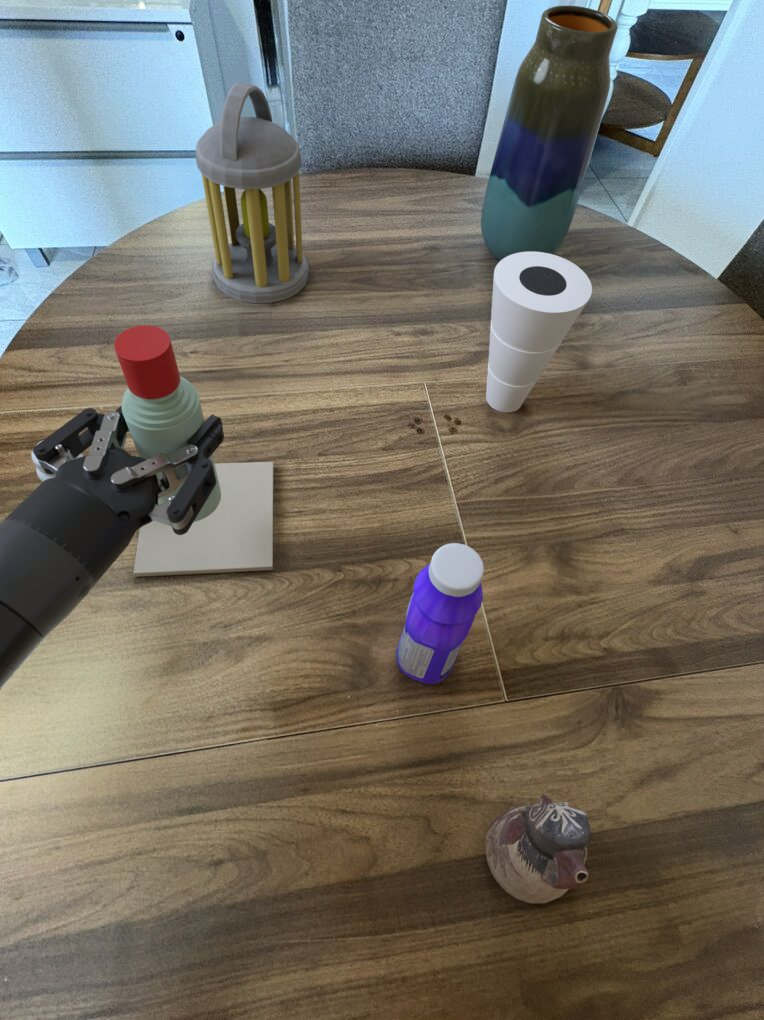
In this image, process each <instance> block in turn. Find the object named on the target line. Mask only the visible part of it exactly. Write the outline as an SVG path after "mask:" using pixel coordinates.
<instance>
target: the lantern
mask: <svg viewBox="0 0 764 1020" xmlns="http://www.w3.org/2000/svg"><path fill="white" fill-rule="evenodd" d="M248 97H249V98H250V101H251V104H252V108H253V111H254V115H255V116H242V112H243V108H244V105H245V103H246V100H247V98H248ZM195 162H196V167H197V169H198V171H199V172H200V174H201V177H202V184H203V185H202V186H203V191H204V197H205V203H206V208H207V213H208V220H209V225H210V231H211V238H212V243H213V249H214V255H215V257H214V259H213V260H212V261H211V262H212V276H213V281H214V282H215V284H216V286H217V288H218V289H219V290H220V291H222V292H223V293H224V294H225V295H227V296H228V297H231V298H233V299H235V300H237V301H240V302H244V303H245V302H246V303H251V304H266V303H267V304H269V303H270V304H272V303H275V302H279V301H283V300H287V299H289V298H291V297H293V296H294V295H296V294H298V293H299V292H301V290H302V289H304V287H306V284H307V282H308V280H309V277H310V275H309V271H310V270H309V263H308V259H307V257H306V255H305V254H304V253H303V232H302V211H301V209H302V208H301V207H302V206H301V188H300V187H301V185H300V184H301V183H300V170H301V168H302V155H301V149H300V145H299V143H298V141H297V140H296V138H295V137H294V136H293V135H292V134H290V133H289V132H288V131H287V130H286V129H284V128H283V127H282V126H280V125H278V124H276V123H275V122H273V117H272V113H271V108H270V105H269V102H268V100H267V97H266V95H265V93H264V91H263V90H262V89H261V88H259V87H258V86H257V85H255V84H252V83H247V82H244V81H242V82H241V81H240V82H238V83H234V84H233V85H232V86H231V87H230V90H229V91H228V92H227V94H226V97H225V101H224V104H223V107H222V111H221V119H220V121H219V122H217V123H215V124H214V125H212V126H210V127H209V128H207V130H205V132H204V133H203V134H202V135H200V138H199V139H198V141H196V145H195ZM221 186H222V188H223V196H224V200H225V201H224V202H225V209H226V216H227V221H228V222H227V224H228V230H229V236H230V243H229V237H228V231H227V224H226V217H225V211H224V204H223V196H222V191H221ZM292 187H293V188H292ZM269 188H271V192H272V206H273V217H274V219H273V220H274V224H272V223H270V221H269V211H268V210H269V209H268V199H267V196H266V194H265V192H264V191H262V190H265V189H269ZM236 189H238V190H243V191H242V193H241V195H240V207H241V216H242V223H241V224H240V217H239V209H238V200H237V195H236ZM292 189H293V196H292ZM292 197H293V198H292ZM293 207H294V208H293ZM293 209H294V215H293ZM293 217H294V218H293ZM294 225H295V227H294ZM294 229H295V236H294Z"/></svg>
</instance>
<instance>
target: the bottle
mask: <svg viewBox="0 0 764 1020" xmlns="http://www.w3.org/2000/svg"><path fill="white" fill-rule="evenodd" d="M484 573H485V567H484V562H483V559H482V557H481V556H480V555H479V553H478V552H477V551H476V550H475V549H473V548H472V547H470V546H469V545H466V544H463V543H458V542H452V543H447V544H444V545H442V546H440V547H439V548H438V549H436V551H435V552H433V554H432V557H431V559H430V563H429V564H427V565H426V566H425V567H424V568H423V569H421V570H420V572H419V573H418V574H417V575H416V578H415V580H414V581H413V582H414V583H413V592H412V594H411V596H410V599H409V602H408V605H407V610H406V616H405V622H404V626H403V629H402V632H401V635H400V637H399V640H398V644H397V647H396V663H397V666H398V668H399V670H400V672H402V674H404V675H405V676H406V677H407V678H410V679H412V680H414V681H417V682H420V683H422V684H426V685H435V684H439V683H441V682H442V681H444V680H445V679H446V678H447V677H448V676H449V674H450V673H451V671H452V670H453V668H454V665H455V663H456V660H457V659H458V654H459V652H460V651H461V648H462V645H463V643H464V641H465V640H466V638H467V637H468V634H469V632H470V630H471V629H472V626H473V623H474V621H475V617H476V615H477V613H478V612H479V610H480V608H481V606H482V604H483V600H484V595H483V594H484V593H483V587H482V583H481V582H482V579H483V577H484Z"/></svg>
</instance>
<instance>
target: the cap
mask: <svg viewBox="0 0 764 1020" xmlns="http://www.w3.org/2000/svg"><path fill="white" fill-rule="evenodd" d="M113 345H114V346H113V348H114V351H115V354H116V357H117V360H118V363H119V366H120V368H121V371H122V374H123V376H124V379H125V381H126V385H127V388H129V390H130V391H131V392H132V393H133V394H134V395H135V396H137V397H140V398H143V399H159V398H163V397H166V396H168V395H170V394H171V393H173V392H174V391H175V390H176V389H177V388H178V386H179V384H180V376H181V375H180V371H179V366H178V364H177V359H176V355H175V352H174V347H173V343H172V340H171V337H170V335H169V333H168V332H167V331H166V330H164V329H163V328H161V327H159V326H155V325H150V324H149V325H148V324H143V325H137V326H136V325H135V326H132V327H130V328H127V329H125V330H123V331H122V332H121V333H119V334H118V335H117V337H116V338H115V340H114V343H113Z"/></svg>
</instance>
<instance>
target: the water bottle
mask: <svg viewBox="0 0 764 1020" xmlns="http://www.w3.org/2000/svg"><path fill="white" fill-rule="evenodd" d="M121 405H122V413H123V415H124V418H125V421H126V423H127V426H128V428H129V431H130V432H129V431H128V432H129V433H130V436H131V439H132V441H133V444H134V446H135V448H136V451H137V455H138V457H142V458H144V459H146V460H148V459H150V458H152V457H154V456H156V455H158V454H160V453H165V454H170V453H172V452H174V451H176V450H178V449H180V448H182V447H184V446H187V445H188V443H187V441H188V440H189V439H190V438H191V437H192V436H193V435H194V434H195V433H196V432H197V430H198V429H199V428H200V427H201V426H202V425H203V423H204V422H205V421H206V420H205V417H204V412H203V408H202V404H201V399H200V394H199V392H198V390H197V389H196V388H195V387H194V385H193V384H192V383H191V382H190V381H189V380H188V379H186V378H184V377H183V376H181V375H180V384H179V386H178V388H177V389H176V390H175V391H174V392H173V393H171V394H170V395H168V396H166V397H163V398H159V399H143V398H140V397H137V396H135V395H134V394H133V393H132V392H131V391H130V390H129V388H128V387H127V388H126V390H125V391H124V393H123V396H122V401H121ZM208 459H210V460H211V461H212V464H213V468H214V473H215V477H216V481H217V483H216V485H215V487H214V489H213V490H212V492H211V494H210V495H209V497H208V499H207V500H206V502H205V504H204V505H203V507H202V509H201V510H200V512H199V514H198V515H197V517H196V519H195V520H194V522H196V521H199V520H202V519H204V518H206V517H208V516H209V515H210V514H212V513H213V512H214V511H215V510H216V508H217V507H218V505H219V503H220V500H221V489H220V485H219V481H218V476H217V472H216V468H215V459H214V455H213V454H212V455H211V456H210V457H209V458H208ZM185 464H186V463H185ZM183 465H184V464H183ZM181 466H182V465H181ZM179 467H180V466H179ZM177 468H178V467H177ZM156 476H157V478H158V481H159V480H161V479H162V477H163V475H162V472H158V473H156ZM184 482H185V481H184ZM184 482H182V483H181V484H180V486H179V488H178V489H176V490H175V491H173V492H171V493H169V494H167V495H165V496H163V497H161V498H159V499H158V505H160V504H163V503H165V502H166V501H167V500H168V498H169V496H171V495H174V496H176V495H177V493H178V491H179V490H180V488H181V487H182V485H183V484H184Z"/></svg>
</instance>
